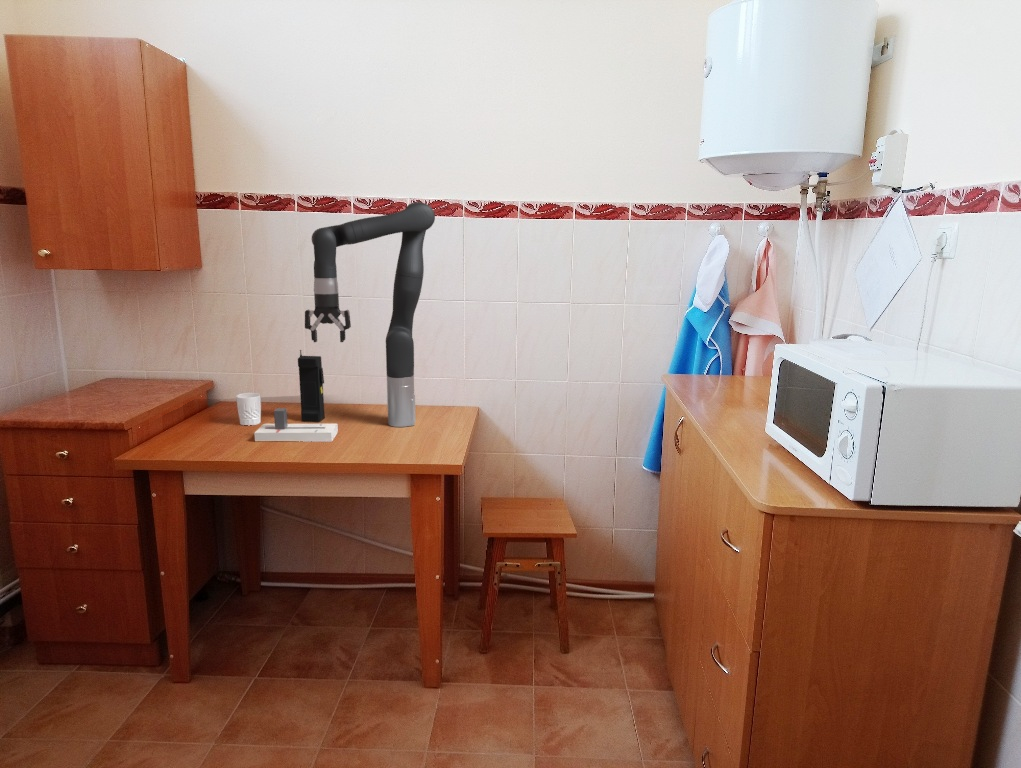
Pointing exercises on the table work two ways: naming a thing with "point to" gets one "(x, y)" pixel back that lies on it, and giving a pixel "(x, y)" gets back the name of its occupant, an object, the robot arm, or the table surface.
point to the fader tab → (280, 418)
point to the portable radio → (311, 388)
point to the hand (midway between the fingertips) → (328, 341)
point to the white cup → (249, 408)
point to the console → (297, 432)
